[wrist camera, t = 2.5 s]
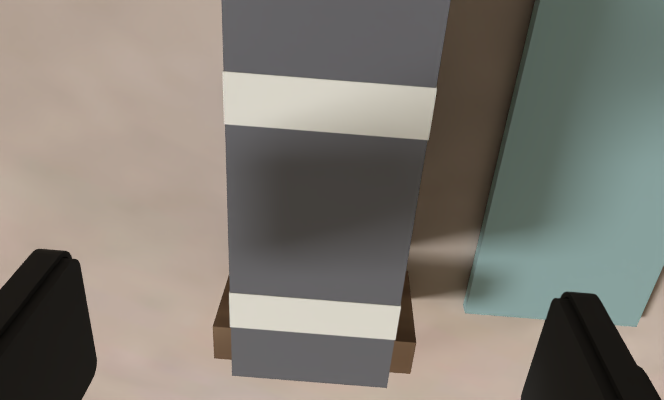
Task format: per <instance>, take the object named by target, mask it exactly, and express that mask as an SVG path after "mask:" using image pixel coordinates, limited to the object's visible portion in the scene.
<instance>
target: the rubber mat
mask: <svg viewBox="0 0 664 400" xmlns="http://www.w3.org/2000/svg"><path fill="white" fill-rule="evenodd" d="M663 266H664V0H535V3H534V7H533V12H532V16H531V20H530V24H529V28H528V33H527V37H526V41H525V45H524V50H523V54H522V58H521V62H520V67H519V71H518V75H517V79H516V84H515V88H514V92H513V96H512V100H511V105H510V109H509V113H508V117H507V122H506V126H505V130H504V134H503V139H502V143H501V147H500V151H499V156H498V160H497V164H496V168H495V172H494V177H493V181H492V185H491V189H490V194H489V198H488V202H487V206H486V211H485V215H484V219H483V223H482V228H481V232H480V236H479V240H478V244H477V249H476V253H475V257H474V261H473V266H472V270H471V274H470V278H469V283H468V287H467V291H466V295H465V300H464V304H463V306H464V311H465V313H469V314H481V315H494V316H507V317H519V318H532V319H544V320H546V317H547V313H548V310H549V307H550V304H551V302H552V300H553V299H554V298H560V297H561V295H562V294H563V293H564V292H566V291H568V292H580V293H593V294H596V295H597V296H598V297H599V298H600V300H601V302H602V304H603V305H604V307H605V309H606V311H607V313H608V314H609V316H610V318H611V320H612V322H613V323H614V325H620V326H633V327H637V324H638V322H639V320H640V318H641V315H642V313H643V311H644V308H645V306H646V304H647V302H648V299H649V297H650V295H651V293H652V290H653V288H654V286H655V284H656V281H657V279H658V277H659V275H660V272H661V270H662V268H663Z"/></svg>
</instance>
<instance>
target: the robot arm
mask: <svg viewBox="0 0 664 400" xmlns="http://www.w3.org/2000/svg"><path fill="white" fill-rule="evenodd" d="M96 366H97V357H96V352H95V346H94V340H93V335H92V329H91V323H90V318H89V312H88V306H87V301H86V295H85V289H84V284H83V278H82V272H81V267H80V263H79V261H78V260H77V259H72V257H71V255H70V253H69V252H67V251H60V250H48V249H36V250H35V251H33V252H32V253H31V255H30V256H29V257H28V258H27V259H26V260H25V261H24V263H23V264H22V265H21V266H20V267H19V268H18V270H17V271H16V272H15V273H14V274H13V275H12V277H11V278H10V279H9V280H8V281H7V282H6V283H5V285H4V286H3V287H2V288H1V289H0V400H82V398H83V396H84V394H85V392H86V390H87V389H88V387H89V385H90V383H91V381H92V379H93V377H94V375H95V371H96ZM521 400H661V398H660V397H659V395H658V393H657V391H656V390H655V388H654V386H653V384H652V383H651V381H650V379H649V377H648V376H647V374H646V373H645V371H644V370H643V369H642V368H641V367H639V366H638V365H637V364H636V362H635V361H634V359H633V357H632V355H631V354H630V352H629V350H628V348H627V346H626V345H625V343H624V341H623V339H622V338H621V336H620V334H619V332H618V330H617V329H616V327H615V325H614V323H613V322H612V320H611V318H610V316H609V314H608V313H607V311H606V309H605V307H604V305H603V304H602V302H601V300H600V298H599V297H598V296H597V295H596V294H593V293H580V292H568V291H566V292H564V293H563V294H562V295H561V297H560V298H554V299H553V300H552V302H551V304H550V307H549V310H548V313H547V317H546V320H545V323H544V326H543V329H542V332H541V335H540V338H539V341H538V344H537V348H536V351H535V354H534V357H533V360H532V363H531V366H530V369H529V372H528V376H527V379H526V382H525V385H524V388H523V391H522V395H521Z"/></svg>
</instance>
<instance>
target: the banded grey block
mask: <svg viewBox="0 0 664 400" xmlns="http://www.w3.org/2000/svg"><path fill="white" fill-rule="evenodd" d="M450 1H451V0H222V31H223V66H224V70H223V106H224V124H225V138H226V174H227V209H228V245H229V281H230V291H229V313H230V327H231V352H232V376H244V377H256V378H269V379H281V380H294V381H307V382H319V383H332V384H344V385H357V386H370V387H382V388H387V383H388V377H389V371H390V365H391V359H392V353H393V347H394V340H396V334H397V328H398V322H399V316H400V309H401V298H402V292H403V286H404V280H405V274H406V268H407V262H408V256H409V249H410V243H411V237H412V231H413V225H414V219H415V213H416V207H417V201H418V195H419V189H420V183H421V177H422V171H423V165H424V159H425V152H426V146H427V140H429V135H430V129H431V123H432V117H433V111H434V105H435V99H436V93H437V80H438V74H439V68H440V61H441V55H442V49H443V43H444V37H445V31H446V25H447V19H448V13H449V7H450Z"/></svg>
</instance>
